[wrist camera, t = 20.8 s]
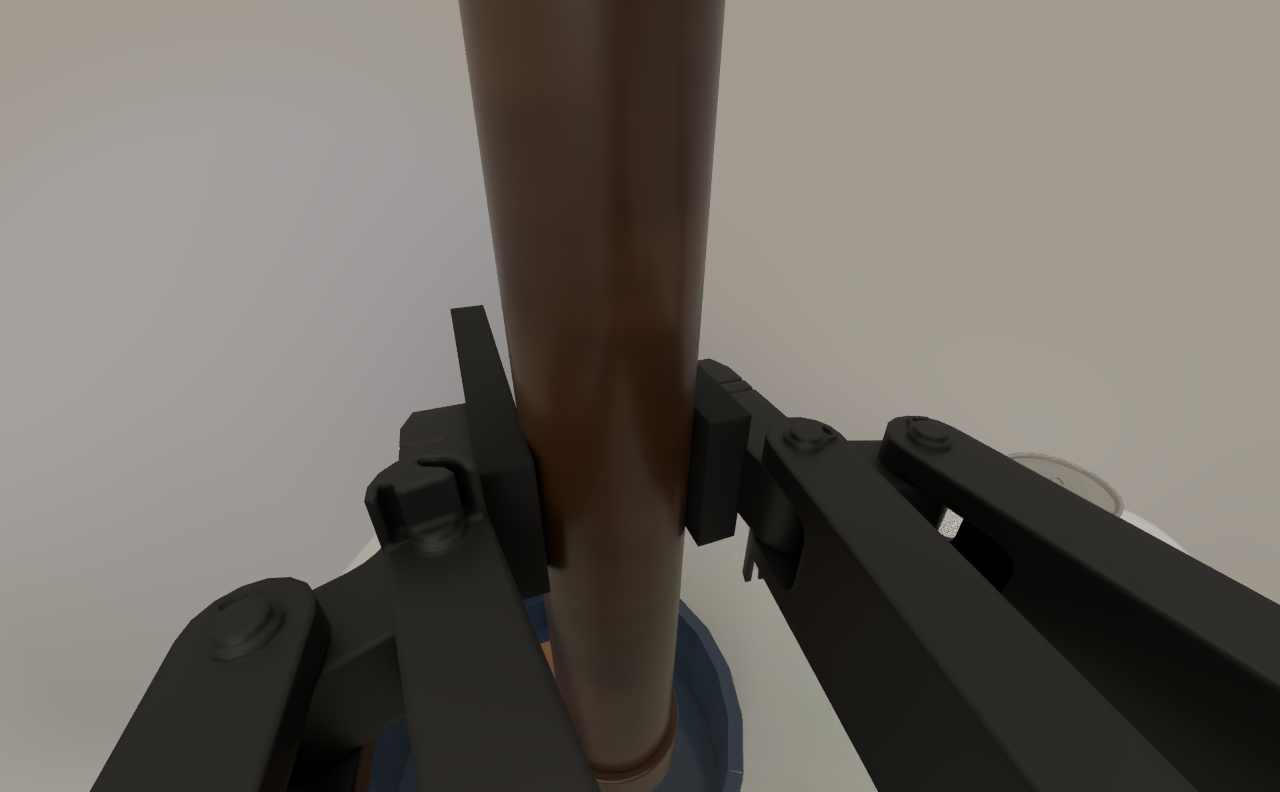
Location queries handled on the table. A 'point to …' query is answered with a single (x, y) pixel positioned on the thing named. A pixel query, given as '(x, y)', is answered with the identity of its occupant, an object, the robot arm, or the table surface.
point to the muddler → (604, 326)
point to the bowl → (707, 719)
